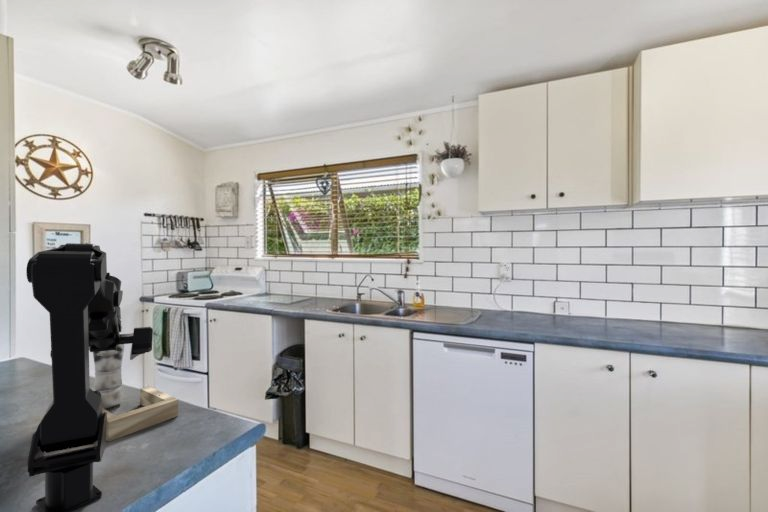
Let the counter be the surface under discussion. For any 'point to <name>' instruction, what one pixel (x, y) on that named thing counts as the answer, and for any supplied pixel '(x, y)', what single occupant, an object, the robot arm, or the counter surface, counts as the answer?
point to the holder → (142, 414)
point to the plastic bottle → (109, 376)
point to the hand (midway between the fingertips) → (109, 360)
